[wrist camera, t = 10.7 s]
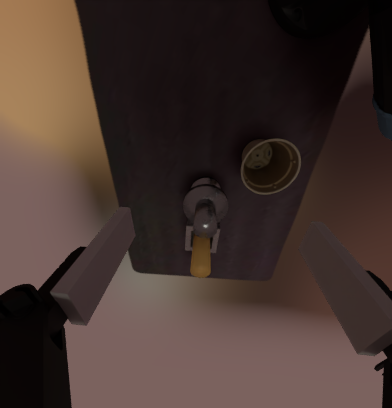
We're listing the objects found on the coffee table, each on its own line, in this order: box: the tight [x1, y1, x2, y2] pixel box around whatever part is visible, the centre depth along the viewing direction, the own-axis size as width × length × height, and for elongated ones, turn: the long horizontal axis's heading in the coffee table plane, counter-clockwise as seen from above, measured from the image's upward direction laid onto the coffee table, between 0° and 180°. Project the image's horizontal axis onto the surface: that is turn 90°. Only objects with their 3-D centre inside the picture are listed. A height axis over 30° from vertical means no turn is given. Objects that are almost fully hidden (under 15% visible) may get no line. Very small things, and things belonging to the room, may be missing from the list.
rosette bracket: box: [183, 177, 229, 253], centre depth 39 cm, size 26×9×14 cm, turn 176°
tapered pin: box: [190, 233, 211, 278], centre depth 37 cm, size 4×4×14 cm
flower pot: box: [241, 138, 301, 194], centre depth 32 cm, size 9×9×9 cm
